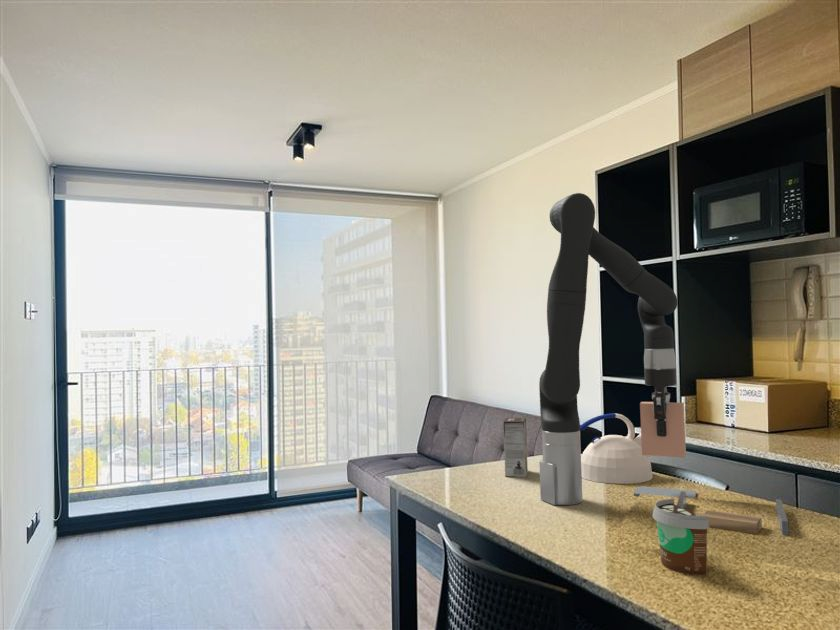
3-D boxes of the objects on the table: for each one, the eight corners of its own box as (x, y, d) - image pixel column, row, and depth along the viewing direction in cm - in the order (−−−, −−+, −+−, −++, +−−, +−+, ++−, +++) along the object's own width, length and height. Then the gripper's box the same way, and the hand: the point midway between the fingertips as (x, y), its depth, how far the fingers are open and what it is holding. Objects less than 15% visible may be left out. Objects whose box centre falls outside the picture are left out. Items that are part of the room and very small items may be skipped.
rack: (788, 542, 118) (787, 521, 118) (675, 530, 127) (674, 510, 127) (782, 518, 134) (781, 499, 134) (681, 509, 143) (680, 491, 143)
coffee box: (506, 470, 189) (505, 417, 190) (528, 470, 188) (526, 417, 189) (504, 476, 180) (503, 421, 181) (527, 477, 179) (525, 421, 180)
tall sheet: (684, 457, 152) (682, 404, 153) (641, 455, 157) (640, 403, 157) (685, 454, 156) (683, 402, 157) (643, 452, 160) (642, 401, 161)
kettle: (665, 483, 168) (662, 416, 169) (588, 485, 168) (586, 418, 169) (639, 468, 188) (637, 408, 189) (571, 469, 188) (569, 410, 189)
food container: (642, 554, 114) (640, 499, 114) (674, 552, 114) (672, 497, 115) (675, 580, 102) (672, 518, 102) (711, 578, 102) (708, 516, 103)
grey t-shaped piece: (694, 500, 149) (694, 498, 149) (633, 495, 156) (633, 493, 156) (696, 493, 157) (696, 490, 157) (638, 488, 163) (637, 486, 163)
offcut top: (757, 533, 120) (756, 523, 120) (701, 525, 126) (701, 515, 126) (761, 527, 124) (761, 517, 124) (708, 519, 130) (707, 510, 130)
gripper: (647, 365, 165) (650, 430, 165) (640, 368, 153) (643, 438, 152) (678, 365, 162) (680, 431, 161) (673, 368, 149) (676, 440, 149)
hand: (662, 434), depth 157 cm, fingers closed on tall sheet, 4 cm apart
